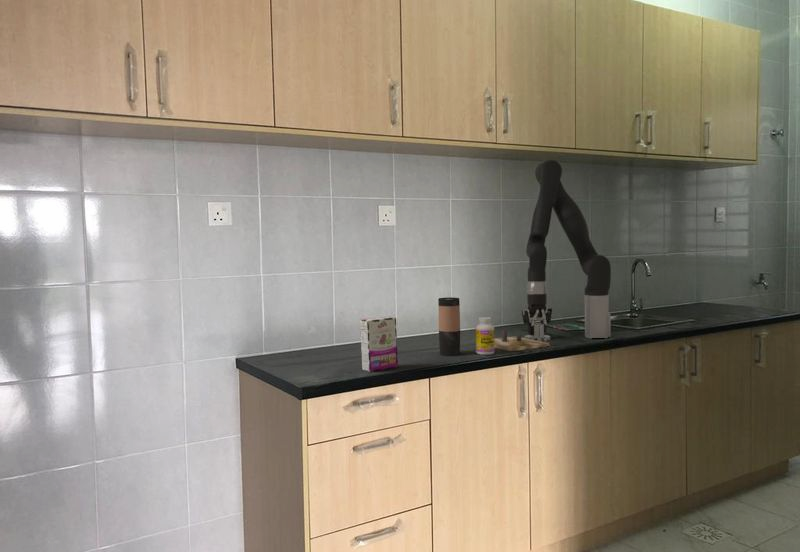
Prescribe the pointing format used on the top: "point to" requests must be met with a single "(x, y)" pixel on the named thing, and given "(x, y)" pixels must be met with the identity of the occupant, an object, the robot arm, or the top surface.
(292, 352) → the top surface
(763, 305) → the top surface
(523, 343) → the carrier board
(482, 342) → the supplement bottle
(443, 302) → the travel mug
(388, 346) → the candy bar box
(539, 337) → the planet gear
